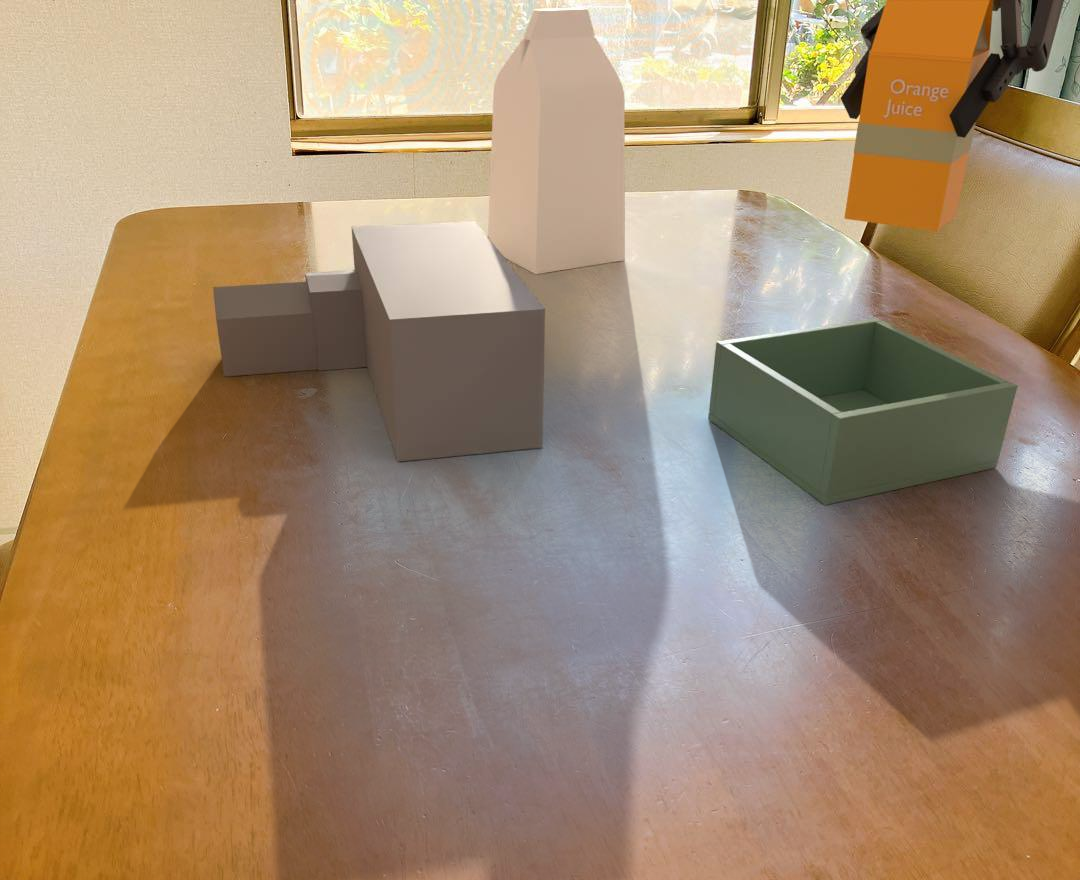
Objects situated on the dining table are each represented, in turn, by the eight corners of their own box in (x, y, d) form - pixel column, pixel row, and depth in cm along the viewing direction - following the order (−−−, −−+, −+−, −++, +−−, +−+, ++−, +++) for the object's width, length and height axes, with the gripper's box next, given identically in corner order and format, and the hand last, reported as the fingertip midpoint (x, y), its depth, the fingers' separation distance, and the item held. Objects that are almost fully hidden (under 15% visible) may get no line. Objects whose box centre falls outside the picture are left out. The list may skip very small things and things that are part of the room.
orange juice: (938, 232, 98) (986, -15, 88) (842, 218, 102) (878, -20, 92) (957, 214, 104) (1005, -20, 94) (866, 202, 108) (902, -24, 98)
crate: (996, 467, 81) (1018, 385, 77) (824, 505, 75) (840, 418, 72) (863, 391, 93) (877, 317, 89) (707, 419, 87) (715, 341, 84)
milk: (535, 274, 120) (539, 15, 107) (487, 248, 129) (485, 6, 115) (624, 260, 125) (639, 12, 112) (573, 236, 134) (580, 3, 121)
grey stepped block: (223, 354, 98) (206, 233, 92) (476, 335, 103) (474, 220, 97) (226, 478, 77) (204, 332, 71) (542, 447, 82) (545, 308, 77)
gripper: (913, -117, 102) (784, 73, 102) (1160, -119, 87) (1010, 105, 86) (934, -54, 108) (812, 126, 107) (1171, -45, 92) (1029, 166, 92)
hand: (900, 117), depth 97 cm, fingers closed on orange juice, 11 cm apart
